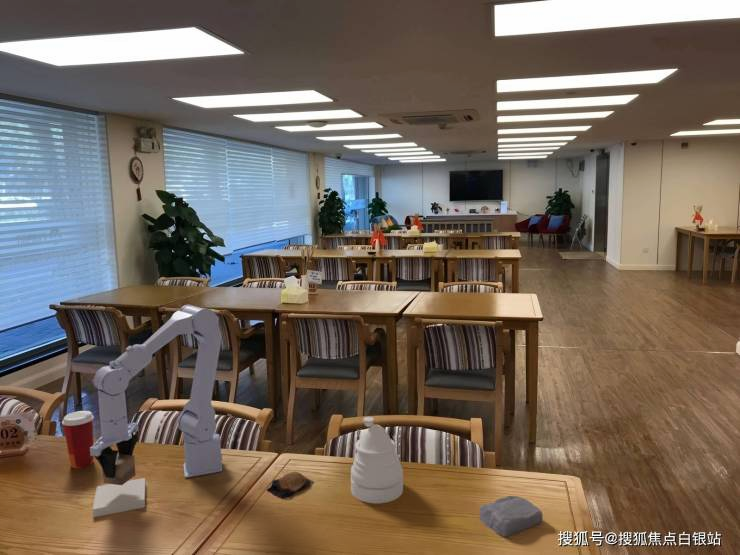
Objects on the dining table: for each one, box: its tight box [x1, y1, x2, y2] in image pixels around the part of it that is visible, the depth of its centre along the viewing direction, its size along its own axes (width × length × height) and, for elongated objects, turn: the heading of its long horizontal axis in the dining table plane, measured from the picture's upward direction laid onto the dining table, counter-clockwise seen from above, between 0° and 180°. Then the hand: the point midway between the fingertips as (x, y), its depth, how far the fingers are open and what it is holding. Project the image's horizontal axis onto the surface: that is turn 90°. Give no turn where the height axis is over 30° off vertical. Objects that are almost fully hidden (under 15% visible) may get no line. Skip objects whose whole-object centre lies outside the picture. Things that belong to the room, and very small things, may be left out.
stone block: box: [478, 495, 544, 538], centre depth 124 cm, size 12×5×10 cm
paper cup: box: [61, 410, 95, 469], centre depth 152 cm, size 8×8×14 cm
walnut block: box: [101, 453, 136, 485], centre depth 133 cm, size 5×5×5 cm
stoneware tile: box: [92, 477, 146, 518], centre depth 134 cm, size 11×11×2 cm
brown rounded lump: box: [266, 471, 315, 500], centre depth 139 cm, size 11×8×4 cm
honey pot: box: [350, 416, 404, 504], centre depth 136 cm, size 13×13×18 cm
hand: (118, 471), depth 133 cm, fingers closed on walnut block, 5 cm apart
